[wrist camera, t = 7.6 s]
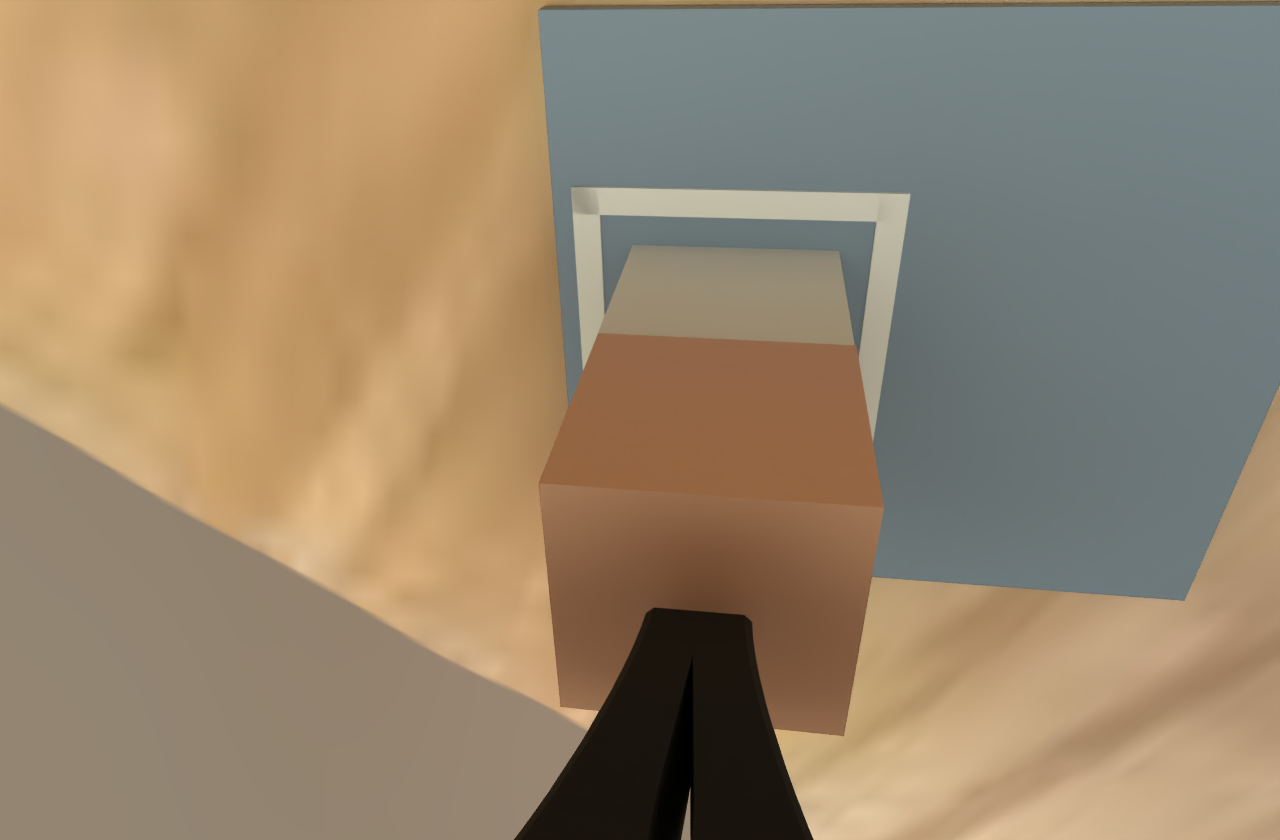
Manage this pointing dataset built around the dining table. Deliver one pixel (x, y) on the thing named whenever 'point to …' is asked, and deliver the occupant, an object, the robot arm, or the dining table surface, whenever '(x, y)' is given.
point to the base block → (731, 295)
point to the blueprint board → (969, 246)
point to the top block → (715, 511)
